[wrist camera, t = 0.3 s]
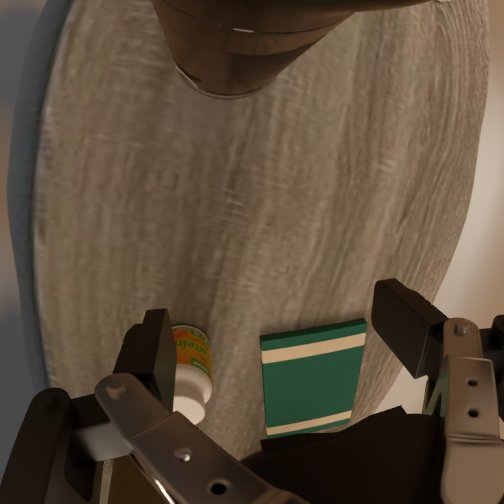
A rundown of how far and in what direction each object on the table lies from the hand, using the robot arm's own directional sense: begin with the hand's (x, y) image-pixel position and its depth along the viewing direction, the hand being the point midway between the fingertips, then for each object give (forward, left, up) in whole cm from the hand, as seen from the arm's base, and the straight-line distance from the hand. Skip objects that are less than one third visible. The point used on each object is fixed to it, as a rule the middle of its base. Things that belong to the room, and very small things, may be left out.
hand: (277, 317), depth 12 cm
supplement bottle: (+13, -7, -18) cm, 23 cm away
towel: (+22, +7, -18) cm, 29 cm away
